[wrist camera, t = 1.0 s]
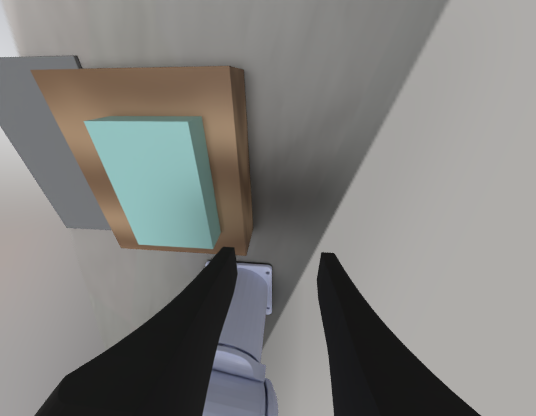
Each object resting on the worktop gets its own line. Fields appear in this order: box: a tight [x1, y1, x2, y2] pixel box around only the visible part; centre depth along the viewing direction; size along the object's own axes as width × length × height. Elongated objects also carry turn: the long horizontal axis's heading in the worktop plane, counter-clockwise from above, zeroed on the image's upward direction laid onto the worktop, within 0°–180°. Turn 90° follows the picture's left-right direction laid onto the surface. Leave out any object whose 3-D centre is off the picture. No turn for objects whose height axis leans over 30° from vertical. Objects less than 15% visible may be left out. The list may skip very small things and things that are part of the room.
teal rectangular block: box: [84, 116, 221, 249], centre depth 14 cm, size 9×6×2 cm, turn 1°
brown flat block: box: [30, 66, 253, 256], centre depth 17 cm, size 14×12×4 cm
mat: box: [0, 56, 112, 230], centre depth 19 cm, size 16×10×1 cm, turn 1°
